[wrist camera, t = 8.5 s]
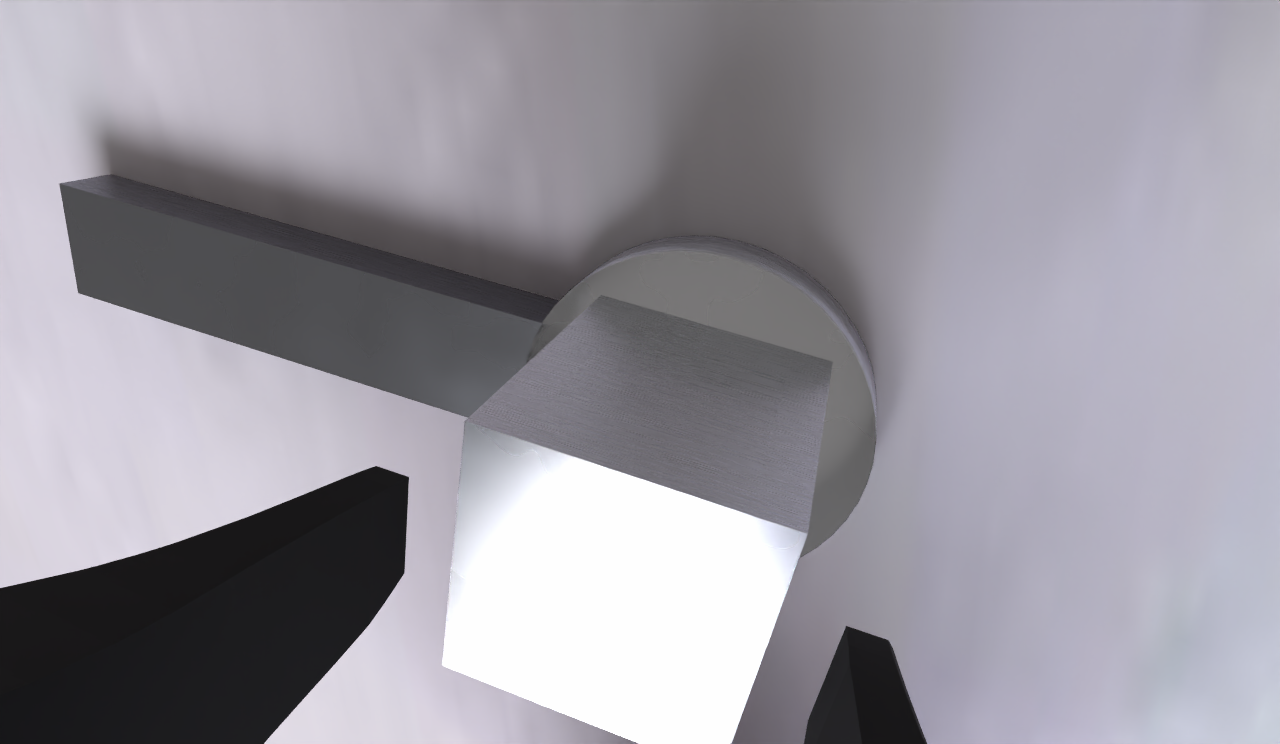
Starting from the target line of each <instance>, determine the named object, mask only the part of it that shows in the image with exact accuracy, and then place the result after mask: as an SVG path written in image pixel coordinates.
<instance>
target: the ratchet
mask: <svg viewBox="0 0 1280 744" xmlns="http://www.w3.org/2000/svg"><path fill="white" fill-rule="evenodd" d="M60 190H61V195H62V201H63V207H64V213H65V219H66V224H67V230H68V236H69V242H70V248H71V253H72V259H73V265H74V271H75V277H76V282H77V288H78V293H80V294H83V295H86V296H89V297H92V298H96V299H99V300H102V301H105V302H108V303H111V304H114V305H118V306H121V307H124V308H127V309H130V310H133V311H136V312H139V313H143V314H146V315H149V316H152V317H155V318H158V319H161V320H164V321H168V322H171V323H174V324H177V325H180V326H183V327H186V328H189V329H193V330H196V331H199V332H202V333H205V334H208V335H211V336H215V337H218V338H221V339H224V340H227V341H230V342H233V343H236V344H240V345H243V346H246V347H249V348H252V349H255V350H258V351H261V352H265V353H268V354H271V355H274V356H277V357H280V358H283V359H286V360H290V361H293V362H296V363H299V364H302V365H305V366H308V367H312V368H315V369H318V370H321V371H324V372H327V373H330V374H333V375H337V376H340V377H343V378H346V379H349V380H352V381H355V382H358V383H362V384H365V385H368V386H371V387H374V388H377V389H380V390H383V391H387V392H390V393H393V394H396V395H399V396H402V397H405V398H409V399H412V400H415V401H418V402H421V403H424V404H427V405H430V406H434V407H437V408H440V409H443V410H446V411H449V412H452V413H455V414H459V415H462V416H465V417H468V418H469V417H470V416H471V415H472V414H473V413H474V412H475V411H476V410H477V409H478V408H479V407H480V406H482V405H483V404H484V403H485V402H486V401H487V400H488V399H489V398H490V397H491V396H492V395H493V394H495V393H496V392H497V391H498V390H499V389H500V388H501V387H502V386H503V385H504V384H505V383H506V382H508V381H509V380H510V379H511V378H512V377H513V376H514V375H515V374H516V373H517V372H518V371H519V370H521V369H522V368H523V367H524V366H525V365H526V364H527V363H528V362H529V361H530V360H531V359H532V358H534V357H535V356H536V355H537V354H538V353H539V352H540V351H541V350H542V349H543V348H544V347H545V346H546V345H548V344H549V343H550V342H551V341H552V340H553V339H554V338H555V337H556V336H557V335H558V334H559V333H561V332H562V331H563V330H564V329H565V328H566V327H567V326H568V325H569V324H570V323H571V322H572V321H574V320H575V319H576V318H577V317H578V316H579V315H580V314H581V313H582V312H583V311H584V310H585V309H587V308H588V307H589V306H590V305H591V304H592V303H593V302H594V301H595V300H596V299H597V298H598V297H600V296H601V295H604V296H607V297H611V298H614V299H618V300H621V301H625V302H628V303H632V304H635V305H639V306H642V307H645V308H649V309H652V310H656V311H659V312H663V313H666V314H670V315H673V316H677V317H680V318H684V319H687V320H691V321H694V322H698V323H701V324H705V325H708V326H711V327H715V328H718V329H722V330H725V331H729V332H732V333H736V334H739V335H743V336H746V337H750V338H753V339H757V340H760V341H764V342H767V343H770V344H774V345H777V346H781V347H784V348H788V349H791V350H795V351H798V352H802V353H805V354H809V355H812V356H816V357H819V358H823V359H826V360H829V361H833V364H832V371H831V378H830V385H829V392H828V399H827V406H826V412H825V419H824V426H823V433H822V440H821V447H820V454H819V460H818V467H817V474H816V481H815V488H814V495H813V502H812V508H811V515H810V522H809V529H808V535H807V538H806V540H805V543H804V546H803V549H802V551H801V554H800V557H802V556H804V555H805V554H807V553H809V552H810V551H812V550H814V549H815V548H817V547H818V546H819V545H821V544H822V543H823V542H824V541H826V540H827V539H828V538H829V537H831V536H832V535H833V534H834V533H835V532H836V531H837V529H838V528H839V527H840V526H841V525H842V524H843V523H844V522H845V521H846V520H847V518H848V517H849V515H850V514H851V512H852V511H853V509H854V508H855V506H856V505H857V503H858V502H859V500H860V498H861V495H862V493H863V491H864V489H865V487H866V485H867V482H868V479H869V475H870V472H871V469H872V465H873V460H874V453H875V445H876V387H875V382H874V376H873V370H872V366H871V363H870V360H869V357H868V354H867V351H866V348H865V345H864V343H863V341H862V339H861V337H860V335H859V333H858V331H857V329H856V327H855V325H854V324H853V323H852V321H851V320H850V318H849V317H848V315H847V314H846V312H845V311H844V309H843V308H842V307H841V305H840V304H839V303H838V302H837V301H836V300H835V299H834V298H833V297H832V295H831V294H830V293H829V292H828V291H827V290H826V289H825V288H824V287H823V286H822V285H821V284H819V283H818V282H817V281H816V280H815V279H813V278H812V277H811V276H810V275H809V274H807V273H806V272H805V271H803V270H802V269H800V268H799V267H797V266H795V265H794V264H792V263H791V262H789V261H788V260H786V259H784V258H782V257H780V256H778V255H776V254H773V253H771V252H769V251H767V250H765V249H763V248H760V247H756V246H753V245H750V244H747V243H744V242H741V241H736V240H731V239H726V238H720V237H711V236H681V237H669V238H665V239H660V240H656V241H651V242H647V243H644V244H642V245H639V246H636V247H633V248H631V249H628V250H626V251H624V252H622V253H620V254H619V255H617V256H615V257H613V258H611V259H609V260H608V261H607V262H605V263H604V264H603V265H601V266H600V267H598V268H597V269H596V270H594V271H593V272H592V273H591V274H589V275H588V276H587V277H586V278H584V279H583V280H582V281H581V282H580V283H578V284H577V285H576V286H575V287H573V288H572V289H571V290H570V291H569V292H568V293H567V294H566V295H565V296H564V297H563V298H562V299H561V300H560V301H558V300H554V299H551V298H547V297H544V296H540V295H537V294H533V293H530V292H526V291H522V290H519V289H515V288H512V287H508V286H505V285H501V284H498V283H494V282H491V281H487V280H483V279H480V278H476V277H473V276H469V275H466V274H462V273H459V272H455V271H452V270H448V269H444V268H441V267H437V266H434V265H430V264H427V263H423V262H420V261H416V260H413V259H409V258H406V257H402V256H398V255H395V254H391V253H388V252H384V251H381V250H377V249H374V248H370V247H367V246H363V245H359V244H356V243H352V242H349V241H345V240H342V239H338V238H335V237H331V236H328V235H324V234H321V233H317V232H313V231H310V230H306V229H303V228H299V227H296V226H292V225H289V224H285V223H282V222H278V221H274V220H271V219H267V218H264V217H260V216H257V215H253V214H250V213H246V212H243V211H239V210H236V209H232V208H228V207H225V206H221V205H218V204H214V203H211V202H207V201H204V200H200V199H197V198H193V197H189V196H186V195H182V194H179V193H175V192H172V191H168V190H165V189H161V188H158V187H154V186H150V185H147V184H143V183H140V182H136V181H133V180H129V179H126V178H122V177H119V176H115V175H112V174H111V175H105V176H99V177H94V178H88V179H83V180H77V181H71V182H66V183H60ZM800 557H799V558H800Z"/></svg>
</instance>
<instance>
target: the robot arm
mask: <svg viewBox="0 0 1280 744" xmlns="http://www.w3.org/2000/svg"><path fill="white" fill-rule="evenodd" d="M408 484H409V477H407V476H404V475H401V474H398V473H395V472H392V471H389V470H386V469H383V468H380V467H377V466H375V467H372V468H369V469H367V470H364V471H361V472H358V473H356V474H353V475H351V476H348V477H346V478H343V479H341V480H338V481H336V482H333V483H331V484H329V485H326V486H324V487H321V488H319V489H316V490H314V491H312V492H309V493H307V494H304V495H302V496H299V497H297V498H294V499H292V500H289V501H287V502H284V503H282V504H279V505H277V506H274V507H272V508H269V509H267V510H264V511H262V512H259V513H257V514H254V515H252V516H249V517H247V518H244V519H241V520H238V521H235V522H233V523H230V524H227V525H224V526H221V527H219V528H216V529H213V530H210V531H207V532H205V533H202V534H199V535H196V536H193V537H191V538H188V539H185V540H182V541H180V542H177V543H173V544H170V545H167V546H164V547H161V548H158V549H155V550H151V551H148V552H145V553H141V554H138V555H135V556H131V557H127V558H124V559H120V560H117V561H113V562H110V563H106V564H102V565H99V566H95V567H91V568H87V569H84V570H80V571H75V572H71V573H66V574H62V575H57V576H53V577H48V578H44V579H40V580H35V581H31V582H26V583H22V584H17V585H13V586H8V587H4V588H0V744H264V743H265V742H266V740H267V739H268V738H269V737H270V736H271V735H272V733H273V732H274V731H275V730H276V729H277V728H278V727H279V726H280V724H281V723H282V722H283V721H284V720H285V719H286V718H287V717H288V716H289V714H290V713H291V712H292V711H293V710H294V709H295V708H296V707H297V705H298V704H299V703H300V702H301V701H302V700H303V699H304V698H305V697H306V695H307V694H308V693H309V692H310V691H311V690H312V689H313V688H314V687H315V685H316V684H317V683H318V682H319V681H320V680H321V679H322V678H323V676H324V675H325V674H326V673H327V672H328V671H329V670H330V669H331V668H332V666H333V665H334V664H335V663H336V662H337V661H338V660H339V659H340V657H341V656H342V655H343V654H344V653H345V652H346V651H347V649H348V648H349V647H350V646H351V645H352V644H353V643H354V641H355V640H356V639H357V638H358V637H359V636H360V635H361V633H362V632H363V631H364V630H365V629H366V628H367V626H368V625H369V624H370V623H371V621H372V620H373V618H374V617H375V616H376V614H377V613H378V611H379V610H380V608H381V607H382V606H383V604H384V603H385V601H386V600H387V598H388V597H389V595H390V594H391V592H392V591H393V589H394V588H395V586H396V585H397V583H398V582H399V580H400V579H401V577H402V576H403V574H404V569H405V548H406V527H407V505H408ZM804 744H927V742H926V739H925V737H924V734H923V732H922V729H921V727H920V724H919V722H918V719H917V716H916V714H915V711H914V708H913V706H912V703H911V700H910V697H909V695H908V692H907V689H906V686H905V683H904V680H903V678H902V675H901V672H900V669H899V666H898V663H897V660H896V656H895V653H894V650H893V648H892V646H891V644H890V642H889V641H888V640H886V639H883V638H880V637H877V636H874V635H871V634H868V633H865V632H862V631H860V630H857V629H854V628H851V627H848V626H846V628H845V631H844V633H843V636H842V638H841V640H840V643H839V645H838V648H837V650H836V653H835V655H834V658H833V660H832V663H831V665H830V668H829V670H828V673H827V675H826V678H825V680H824V682H823V685H822V687H821V690H820V692H819V695H818V697H817V700H816V702H815V705H814V707H813V710H812V712H811V715H810V717H809V720H808V724H807V729H806V735H805V741H804Z"/></svg>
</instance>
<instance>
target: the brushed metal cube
mask: <svg viewBox="0 0 1280 744" xmlns="http://www.w3.org/2000/svg"><path fill="white" fill-rule="evenodd" d="M832 364H833V361H829V360H826V359H823V358H819V357H816V356H812V355H809V354H805V353H802V352H798V351H795V350H791V349H788V348H784V347H781V346H777V345H774V344H770V343H767V342H764V341H760V340H757V339H753V338H750V337H746V336H743V335H739V334H736V333H732V332H729V331H725V330H722V329H718V328H715V327H711V326H708V325H705V324H701V323H698V322H694V321H691V320H687V319H684V318H680V317H677V316H673V315H670V314H666V313H663V312H659V311H656V310H652V309H649V308H645V307H642V306H639V305H635V304H632V303H628V302H625V301H621V300H618V299H614V298H611V297H607V296H604V295H601V296H600V297H598V298H597V299H596V300H595V301H594V302H593V303H592V304H591V305H590V306H589V307H588V308H587V309H585V310H584V311H583V312H582V313H581V314H580V315H579V316H578V317H577V318H576V319H575V320H574V321H572V322H571V323H570V324H569V325H568V326H567V327H566V328H565V329H564V330H563V331H562V332H561V333H559V334H558V335H557V336H556V337H555V338H554V339H553V340H552V341H551V342H550V343H549V344H548V345H546V346H545V347H544V348H543V349H542V350H541V351H540V352H539V353H538V354H537V355H536V356H535V357H534V358H532V359H531V360H530V361H529V362H528V363H527V364H526V365H525V366H524V367H523V368H522V369H521V370H519V371H518V372H517V373H516V374H515V375H514V376H513V377H512V378H511V379H510V380H509V381H508V382H506V383H505V384H504V385H503V386H502V387H501V388H500V389H499V390H498V391H497V392H496V393H495V394H493V395H492V396H491V397H490V398H489V399H488V400H487V401H486V402H485V403H484V404H483V405H482V406H480V407H479V408H478V409H477V410H476V411H475V412H474V413H473V414H472V415H471V416H470V417H469V418H467V419H466V420H465V425H464V436H463V447H462V457H461V468H460V479H459V489H458V500H457V511H456V521H455V532H454V543H453V553H452V564H451V575H450V586H449V596H448V607H447V618H446V628H445V639H444V650H443V660H442V666H445V667H447V668H450V669H452V670H455V671H457V672H460V673H462V674H465V675H468V676H470V677H473V678H475V679H478V680H480V681H483V682H485V683H488V684H490V685H493V686H495V687H498V688H500V689H503V690H505V691H508V692H511V693H513V694H516V695H518V696H521V697H523V698H526V699H528V700H531V701H533V702H536V703H538V704H541V705H543V706H546V707H548V708H551V709H554V710H556V711H559V712H561V713H564V714H566V715H569V716H571V717H574V718H576V719H579V720H581V721H584V722H586V723H589V724H591V725H594V726H597V727H599V728H602V729H604V730H607V731H609V732H612V733H614V734H617V735H619V736H622V737H624V738H627V739H629V740H632V741H634V742H637V743H640V744H731V743H732V741H733V738H734V735H735V732H736V730H737V727H738V724H739V721H740V719H741V716H742V713H743V710H744V708H745V705H746V702H747V699H748V697H749V694H750V691H751V688H752V686H753V683H754V680H755V677H756V675H757V672H758V669H759V666H760V664H761V661H762V658H763V655H764V653H765V650H766V647H767V645H768V642H769V639H770V636H771V634H772V631H773V628H774V625H775V623H776V620H777V617H778V614H779V612H780V609H781V606H782V603H783V601H784V598H785V595H786V592H787V590H788V587H789V584H790V581H791V579H792V576H793V573H794V570H795V568H796V565H797V562H798V560H799V557H800V554H801V551H802V549H803V546H804V543H805V540H806V538H807V535H808V529H809V522H810V515H811V508H812V502H813V495H814V488H815V481H816V474H817V467H818V460H819V454H820V447H821V440H822V433H823V426H824V419H825V412H826V406H827V399H828V392H829V385H830V378H831V371H832Z"/></svg>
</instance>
